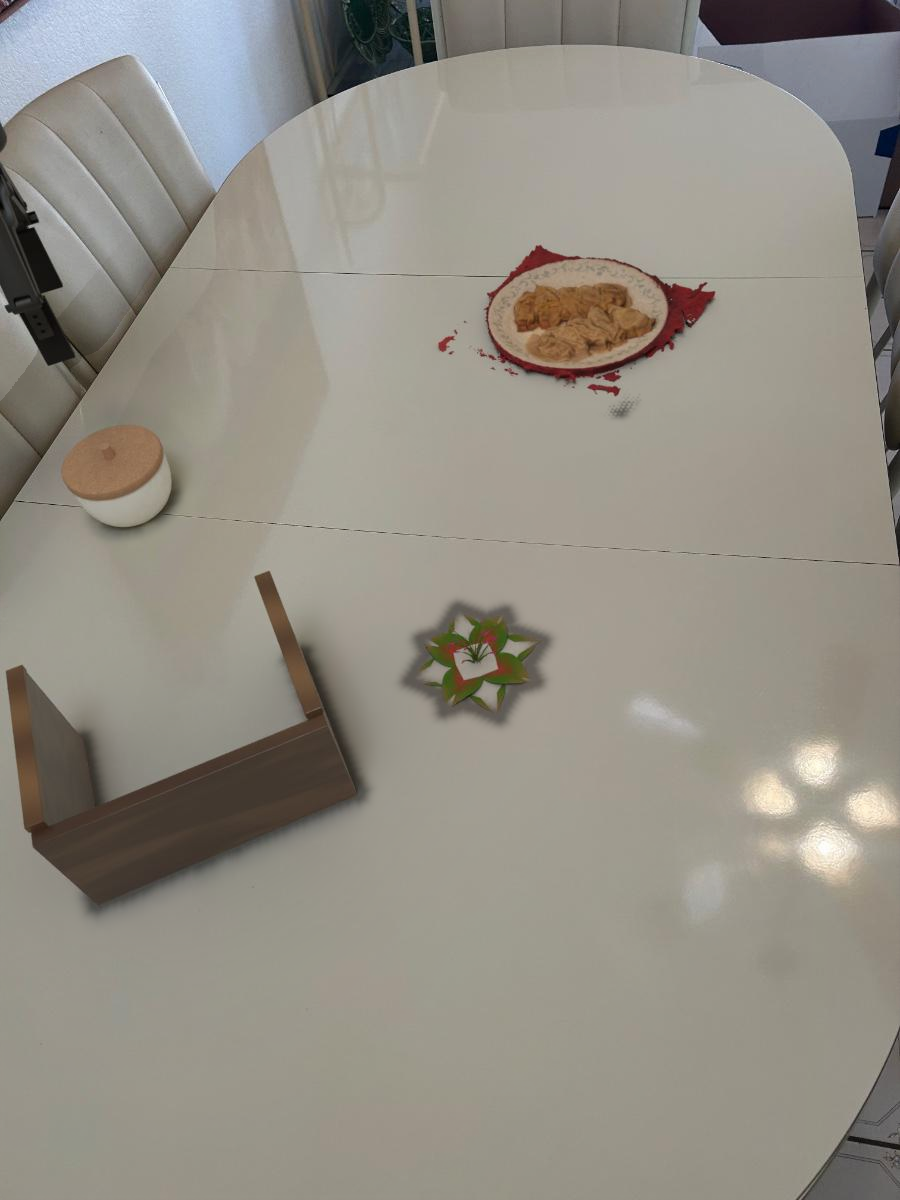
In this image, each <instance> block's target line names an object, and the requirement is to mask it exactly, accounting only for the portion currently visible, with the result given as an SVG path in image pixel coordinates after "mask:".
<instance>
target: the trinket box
mask: <svg viewBox="0 0 900 1200" xmlns="http://www.w3.org/2000/svg"><path fill="white" fill-rule="evenodd" d="M163 447H164V446H163V444H162V442H161V440H160V437H158V435H157V434H156V433H155V432H154V431H152V430H150V429H148V428H147V427H144V426H141V425H135V424H121V425H113V426H110V427H105V428H103V429H100V430H98V431H95V432H94V433H91V434H89V435H88V436H85V437H84V438H83V439H81V440H80V441H79V442H78V443H76V445H74V446H73V447H72V448H71V450H70V451H69V452H68V453H67V455H66V456H65V458H64V460H63V463H62V466H61V479H62V481H63V483H64V485H65V487H66V488H67V489H68V490H69V492H70V493H71V494H72V495H73V497H74V499H75V500H76V502H77V504H79V506H80V507H81V508H82V509H83V510H84V511H85V512H86V513H87V514H89V516H91V518H93V519H95V520H97V521H98V522H100V523H102V524H105V525H107V526H110V527H111V526H112V527H117V528H129V527H135V526H140V525H142V524H145V523H147V522H148V521H149V522H150V520H152V519H154V518H155V517H156V516H157V515H158V514H159V513H161V511H162V510H163V509H164V507H165V506H166V504H167V502H168V500H169V499H170V497H171V496H170V495H171V491H172V483H173V480H172V473H171V467H170V464H169V460H168V458H167V456H166V453H165V451H164V448H163Z"/></svg>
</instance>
